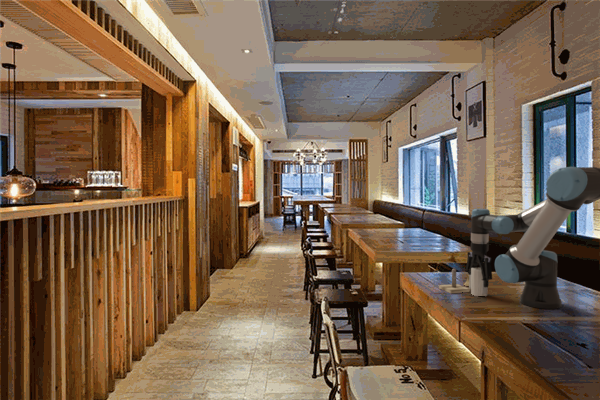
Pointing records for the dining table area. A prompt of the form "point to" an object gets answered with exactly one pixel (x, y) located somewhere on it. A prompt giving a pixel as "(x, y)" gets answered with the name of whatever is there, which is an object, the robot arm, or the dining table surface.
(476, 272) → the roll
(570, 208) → the robot arm
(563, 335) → the dining table surface
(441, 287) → the stand
